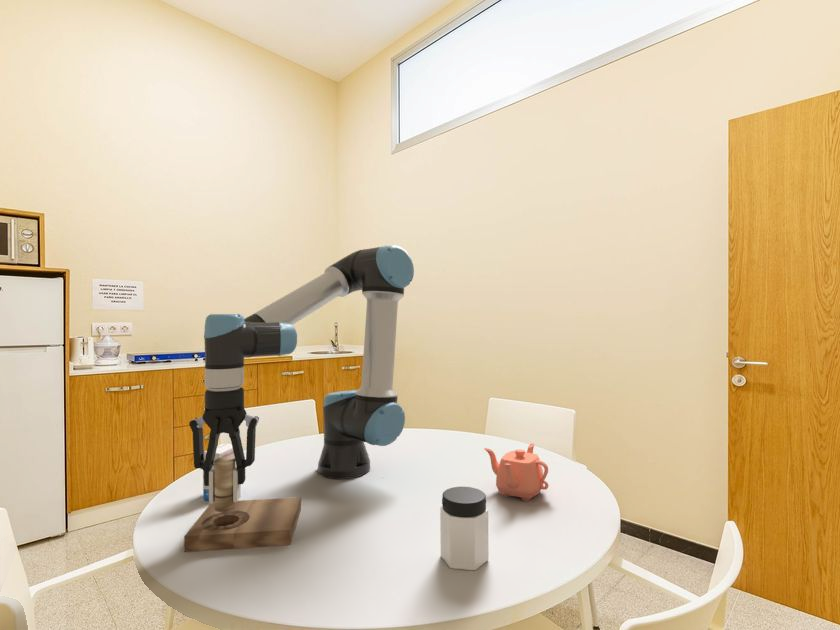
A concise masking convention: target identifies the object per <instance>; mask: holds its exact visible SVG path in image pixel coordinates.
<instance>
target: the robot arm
mask: <svg viewBox="0 0 840 630" xmlns="http://www.w3.org/2000/svg"><path fill="white" fill-rule="evenodd" d="M414 274H415V269H414V264H413V260H412V258H411V256H410V255H409V254H408V252H407V251H406V250H405V249H404V248H402V247H401V246H399V245H382V246H377V247H372V248H371V247H370V248H365V249H364V248H363V249H359V250H356V251H354V252H352V253H350V254H348V255H346V256H345V257H343V258H341V259H340V260H338V261H336V262H334V263H333V264H331V265H329V266H328V267H326V268H325V270H324V273H323V274H320V275H319V276H317V277H316V278H314V279H312V280H310V281H309V282H307V283H305V284H302V285H301V286H300V287H298V288H296V289H295V290H293V291H291V292H289V293H288V294H286V295H284V296H282V297H280V298H279V299H277V300H275V301H273V302H272V303H269V304H268V305H266V306H265V307H263V308H261V309H260V310H258V311H256V312H254V313H253V314H251V315H249V316H247V317H244V315H243V314H241V313H215V314H214V313H211V314H209V315H207V316H206V317H205V319H204V320H205V323H204V335H203V339H204V340H203V341H204V388H206V390H205V391H204V412H203V414H202V416H200V417H195V418H193V419H192V420H190V421H189V422H188V424H189V427H190V430H191V431H192V446H193V448H192V450H193V454H192V455H193V467H194V468H195V469H200V470H202V472H203V471H204V485H205V486H209V500H208V504H210V503H213V502H214V467H213V468H212V466H213V465H214V464H213V463H214V459H215V454H216V449H217V446H219V445H218V444H219V441H220V440H219V439H220V435H221V434H223V433H224V434H228V437H229V439H230V441H231V442H230V444H232V447H233V452H234V456H235V461H236V465H237V467H236V468H235V469H234V470H233V502H237V501H240V498H241V485H243V484H244V483H245V481H246V468H247V467H251V466H252V465H253V463H254V462H255V459H256V458H255V457H256V430H257V425H258V423H259V420H260V417H259V416H258V415H255V416H253V415H249V414H247V410H246V409H245V389H244V387H242V386H244V385H245V358H257V357H273V356H274V357H276V356H278V357H280V356H285V355H290V354H293V352H295V350H296V349H297V345H298V333H297V330H296V327H295V326H294V324H296V323H298V322H299V321H301V320H302V319H304V318H306V317H307V316H309V315H310V314H312V313H314V312H315V311H317V310H319V309H320V308H322V307H324V306H325V305H326V304H329V302H332V301H333V300H335V299H337V298H338V297H340V298H345V297H347V296H348V295H350V294H352V293H354V292H358V291H361V295H363V296H364V297H365V299H366V313H365V326H364V340H363V341H364V342H363V356H362V370H361V371H362V372H361V373H362V374H361V384H360V385H361V386H360V387H359V388H358V389H353V390H352V389H350V390H342V391H336V392H335V391H334V392H330V393H327V394H325V396H324V398H323V406H322V409H323V446H322V449H321V454H320V457H319V460H318V462H317V473H318V475H320V476H322V477H324V478H328V479H335V480H336V479H337V480H338V479H342V480H343V479H352V478H357V477H360V476H363V475H365V474H368V472H370V469H371V460H370V457H369V453H368V451H367V448H366V444H365V443H367V444H369V445H371V446H379V447H384V446H385V447H386V446H389V445H391V444H392V443H394V442H395V441H396V440H398V439H397V438H398V437H400V436H401V434H402V432H403V430H404V427H405V424H406V423H405V422H406V414H405V411H404V409H403V407H402V406H401V405H400V404H398V396H399V395H398V393H397V392H396V391H395V389H394V388H393V387H394V385H393V384H394V372H395V371H394V370H395V356H396V355H395V354H396V352H395V351H396V337H397V324H398V323H397V322H398V320H397V319H398V308H399V307H398V306H399V301H400V300H401V299H402V298H403V297H404V296H405V288H406V287H408V286H410V284H411V282H412V281H413V280H414ZM244 421H245V426H246V427H247V429H246V448H245V450H246V452H245V453H244V448H243V443H242V439H241V431H240V426H241V425H242V424H243V422H244ZM204 423H205V424H206V425H207V427H208V428H209V430H210V431H209V435H208V436H209V437H208V438H209V439H208V445H207V448H206V451H207V453H206V458H205V461H204V451H205V450H204V449H205V448H204V428H203V427H204V426H205V424H204Z"/></svg>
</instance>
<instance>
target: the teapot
mask: <svg viewBox="0 0 840 630" xmlns="http://www.w3.org/2000/svg"><path fill="white" fill-rule="evenodd" d="M534 447H535V444H534V443H530V444H529V445H528V447H527V449H526V450H524V449H521V448H519V449H515V450H511V451H509V452H506V453H505V454H504V455H502V456H501V459H500V461H499V462H498V460H497V457H496V454H495V452H494V451H493V450H492V449H490V448H487V447H484V448H483V450H484V451H486V452H487V454H488V455H489V458H490V459H489V460H490V465H491V471H492V472H493V473H494V474H495V476H496V477H495V478H496V479H495V486H496V488H497V490H498V493H500V494H502V496H503V497H511V496H512V497H517V498H522V499H521V500H523V501H524V502H525V501H526V502H531V501H532V498H533V497H535V496H537V495H538V494H539V493H540V492H541V491H543V490H544V491H545V490H547V489H549V483H548V482H547V481H545V480H546V478H547V476H548V473H549V466H548V465H547V463H546V462H544V461H542V460H540V457H539V455H538V454H536V453H534ZM543 469H544V470H543Z"/></svg>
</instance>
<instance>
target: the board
mask: <svg viewBox="0 0 840 630" xmlns="http://www.w3.org/2000/svg"><path fill="white" fill-rule="evenodd" d="M301 512H302V497H301V496H298V497H279V498H262V499H247V500H246V499H245V500H244V499H243V500H238V501H237V502H235V508H234V509H232V510H230V511H226V512H217V511H215V510H214V502H213V503H209V505H208V506H207V508H205V510H204V511H203V512H202V514H201V515H200V516H199V517H198V518H197V520H196V521H195V522H194V524H193V525H192V526H191V527H190V529H189V530H188V531H187V532H186V534H185V535H184V536H183V537H184V539H183V540H184V541H183V545H184V547H183V549H184V551H183V552H184V553H188V552H190V553H191V552H201V551H214V550H215V551H216V550H217V551H218V550H231V549H233V550H234V549H244V548H245V549H246V548H258V547H259V548H260V547H261V548H262V547H272V546H273V547H274V546H285V545H286V546H287V545H291V544H292V542H293V537H294V535H295V531H296V528H297V525H298V522H299V518H300V514H301Z"/></svg>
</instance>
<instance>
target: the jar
mask: <svg viewBox="0 0 840 630" xmlns="http://www.w3.org/2000/svg"><path fill="white" fill-rule="evenodd" d="M486 496H487V495H486V493H485V492H484V491H482V490H480V489H479V488H476V487H472V486H455V487H450V488H447V489H446V490H444V491H443V492H442V496H441V497H442V498H441V504H442V505H441V506H440V508H439V509H440V510H439V512H440V518H439V519H440V525H439V526H440V557H441V558H442V559H443V561H444V562H445V563H446V565H448V567H449V568H450V569H457V570H466V571H476V570H477V569H479V568H480V567H482V565H484V564H485V563H486V562H488V561H489V559H490V558H489V510H488V509H487V507H486V506H487V497H486Z"/></svg>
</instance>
